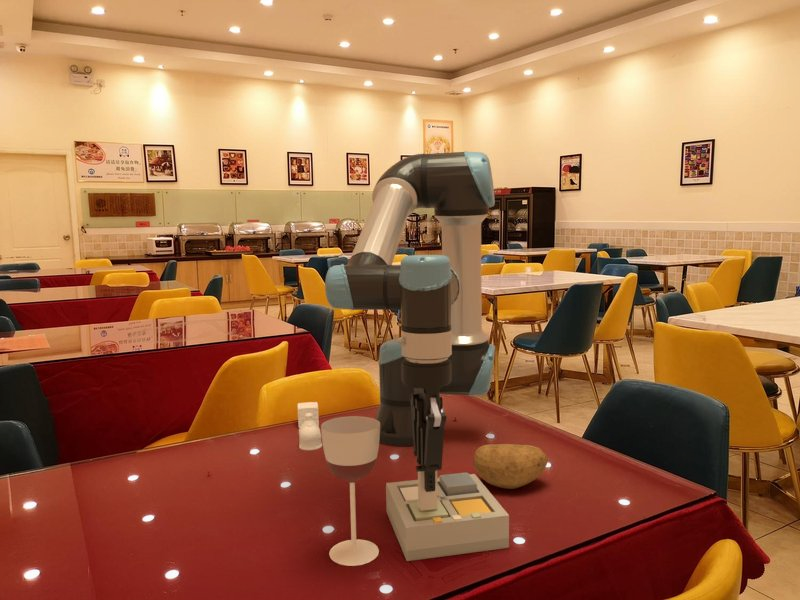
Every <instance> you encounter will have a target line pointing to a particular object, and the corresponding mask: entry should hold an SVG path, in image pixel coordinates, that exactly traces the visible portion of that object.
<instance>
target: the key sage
mask: <svg viewBox="0 0 800 600" xmlns="http://www.w3.org/2000/svg"><path fill="white" fill-rule="evenodd" d="M409 512H410V514H411V516H412V518H413V520H414V521H421V520H430V519H433V518H436V517H441V518H447V517H448V513H447V512H446V510H445V508H444V507H443V505H442V504H441V502H440V500H438V509H434V510H425V511H420V509H419V507H418V503H409Z"/></svg>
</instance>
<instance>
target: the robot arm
mask: <svg viewBox="0 0 800 600" xmlns="http://www.w3.org/2000/svg"><path fill="white" fill-rule="evenodd" d="M494 188H495V187H494V180H493V173H492V167H491V163H490V159H489V157H488V155H487V154H485V153H484V152H483V151H482V152H480V151H467V150H465V151H459V152H458V151H457V152H456V151H455V152H440V153H437V152H436V153H417V154H416V153H415V154H413V155H409V156H407V157H404V158H403V159H401V160H398V161H397V162H395V163H394V164H393V165H391V166H390V167H389V168H388V169H387V170H386V171H384V173H383V174H382V175H381V176H380V177H379V178H378V180H377V181H376V184H375V186H374V188H373V190H372V195H371V196H372V197H371V198H372V205H371V208H370V210H369V213H368V215H367V217H366V219H365V221H364V222H365V223H364V225H363V226H362V229H361V232H360V233H359V236H358V239H357V242H356V243H355V245H354V248H353V250H352V253H351V256H350V258H349V259H348V261H347V264H344V263H341V264H338V265H332V266H331V267H329V268H328V270H327V271H326V272H327V273H326V275H325V283H324V285H325V286H324V290H325V297H326V300H327V303H328V305H330V306H331V308H334V309H342V310H351V311H358V310H359V311H360V310H361V311H371V310H372V311H374V310H375V311H379V310H381V311H382V310H383V311H384V310H386V311H387V310H388V311H391V310H392V311H400V325H401V326H400V330H401V333H400V334H401V337H397V338H393V339H390V340H387V341H385V342H383V343H382V344H381V346H380V347H379V355H378V357H379V358H378V359H379V360H378V366H379V367H378V368H379V370H378V372H379V373H378V374H379V375H378V376H379V408H378V409H377V414H376V416H375V419H376V420H378V421H379V422H380V439H379V443H381V444H385V445H389V446H398V447H413V455H414V457H416V463H417V465H415V469H416V472H417V480H418V507H419V509H420V511H425V510H434V509H438V498H437V478H438V471H442V468H443V452H444V439H445V427H446V423H447V419H448V418H447V415H446V413H445V412H442V410H443V406H444V405H443V397H442V396H441V395H452V396H455V395H456V396H467V397H471V396H485V395H486V394H487V393H488V392H489V390H490V388H491V383H492V382H491V381H492V374H493V367H494V362H495V361H494V359H495V354H496V353H495V351H496V345H494V344H492V343H489V335H488V334H487V333H486V332H485V331H484V330H483V320H482V319H483V317H482V315H483V313H482V312H483V307H482V305H483V303H482V302H483V301H482V297H483V296H482V223H483V222H484V220H485V219H486V218H487V217H488V215H489V208H490V209H491V208H492V207H494V206H495V205H496V204H495V203H496V200H495V189H494ZM416 209H434V213H433V214H434V218H435V219H436V220H437V221H438V222H439V223H440V226H441V254H415V255H414V254H412V255H404V256H403V257H402V258H401V260H400V264H393V262H394V259H395V256H396V253H397V250H398V247H399V244H400V241H401V238H402V235H403V232H404V230H405V226H406V223H407V220H408V217H409V216H411V215H412V214H413V213H414V212H415V210H416Z"/></svg>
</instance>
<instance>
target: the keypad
mask: <svg viewBox="0 0 800 600" xmlns="http://www.w3.org/2000/svg"><path fill="white" fill-rule="evenodd" d="M468 474H469V475H470V476H471V478H472V479H473V480H474V481H475V482H476V484H477V493H470V494H461V495H452V496H446V495H445V494H444V492H443V491H442V489H441V488H440V477H437V498H438V500H440V502H441V504H442V505H443V507H444V508H445V510H446V512H447V513H448V517H447V518H441V517H436V518H433V519H430V520H421V521H414V520H413V518H412V516H411V514H410V512H409V503H418V499H417V500H408V501H404V499H403V497H402V495H401V493H400V488H406V487H416V486H418V479H413V480H403V481H396V482H395V481H394V482H386V483H385V495H386V496H385V500H386V507H385V510H386V514H387V516H388V518H389V522H390V524H391V526H392V528H393V531H394V534H395V536H396V539H397V541H398V543H399V546H400V548H401V551H402V553H403V556H404V558H405V560H406V562H410V561H418V560H426V559H435V558H441V557H450V556H456V555H463V554H471V553H479V552H487V551H488V552H489V551H493V550H494V551H495V550H502V549H508V548H510V515H509V513H508V512H507V511H506V509H505V508H503V507H502V505H501V504H500V502H499V501H498V500H497V499H496V498H495V496H494V495H493V494H492V493H491V492H490V490H489V489H488V488H487V487H486V485H484V484H483V483H484V482H482V481H481V480H480V478H479V477H478V476H477V475H476V474H475V473H472V474H471V473H468ZM480 498H481V499H482V500H483V502H484V503H485V504H486V506H487V507H488V508H489V509H490V511H491V512H489V513H480V514H479V513H471V515H463V516H460V515H458V514H457V512H456V510H455V509H454V507H453V506H452V504H451V502H454V501H463V500H471V499H480Z"/></svg>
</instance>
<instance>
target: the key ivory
mask: <svg viewBox="0 0 800 600" xmlns="http://www.w3.org/2000/svg"><path fill="white" fill-rule="evenodd" d="M400 493H401V495H402V497H403V499H404V501H408V500H417V499H418V486H416V487H406V488H400Z"/></svg>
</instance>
